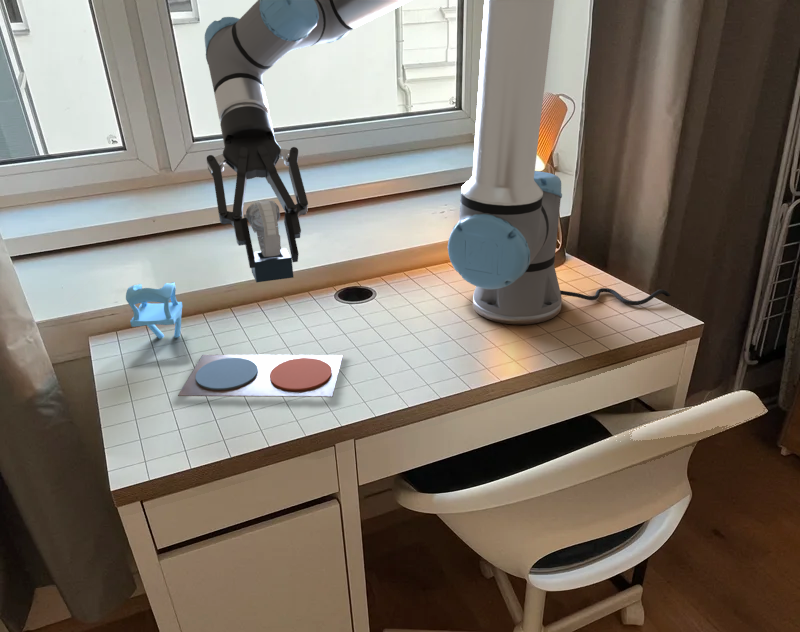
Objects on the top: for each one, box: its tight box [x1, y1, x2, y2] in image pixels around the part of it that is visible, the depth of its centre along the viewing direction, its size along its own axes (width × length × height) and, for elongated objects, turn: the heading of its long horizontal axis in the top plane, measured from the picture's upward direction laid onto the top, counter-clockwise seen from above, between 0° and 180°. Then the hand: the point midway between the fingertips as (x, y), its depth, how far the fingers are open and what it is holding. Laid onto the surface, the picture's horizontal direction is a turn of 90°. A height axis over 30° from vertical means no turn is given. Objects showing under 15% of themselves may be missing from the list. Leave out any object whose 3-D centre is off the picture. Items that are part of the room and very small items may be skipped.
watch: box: [243, 199, 294, 283], centre depth 103 cm, size 6×8×11 cm
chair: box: [125, 281, 184, 340], centre depth 110 cm, size 8×8×12 cm
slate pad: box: [195, 358, 258, 390], centre depth 104 cm, size 9×9×1 cm
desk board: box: [177, 354, 344, 398], centre depth 104 cm, size 22×12×1 cm, turn 87°
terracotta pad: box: [270, 358, 332, 391], centre depth 103 cm, size 9×9×1 cm
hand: (274, 260), depth 101 cm, fingers closed on watch, 5 cm apart
